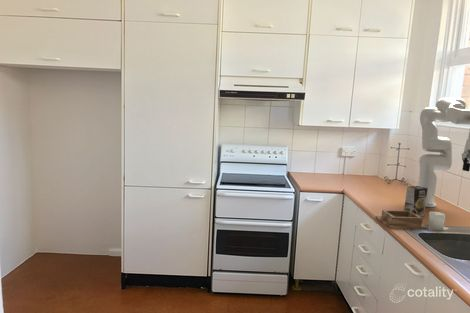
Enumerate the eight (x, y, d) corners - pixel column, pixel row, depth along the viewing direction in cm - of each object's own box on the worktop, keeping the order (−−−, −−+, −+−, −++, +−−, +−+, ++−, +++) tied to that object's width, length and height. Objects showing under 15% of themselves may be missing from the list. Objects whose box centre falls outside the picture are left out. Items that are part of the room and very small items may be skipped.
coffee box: (413, 218, 189) (416, 189, 186) (403, 214, 195) (406, 186, 192) (424, 216, 192) (428, 188, 190) (414, 212, 198) (418, 185, 196)
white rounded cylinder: (424, 224, 179) (426, 211, 178) (437, 224, 179) (439, 211, 178) (433, 229, 172) (434, 215, 171) (446, 229, 172) (448, 215, 171)
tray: (375, 217, 186) (376, 208, 185) (410, 218, 187) (411, 209, 186) (390, 228, 170) (391, 218, 170) (427, 229, 171) (429, 219, 171)
